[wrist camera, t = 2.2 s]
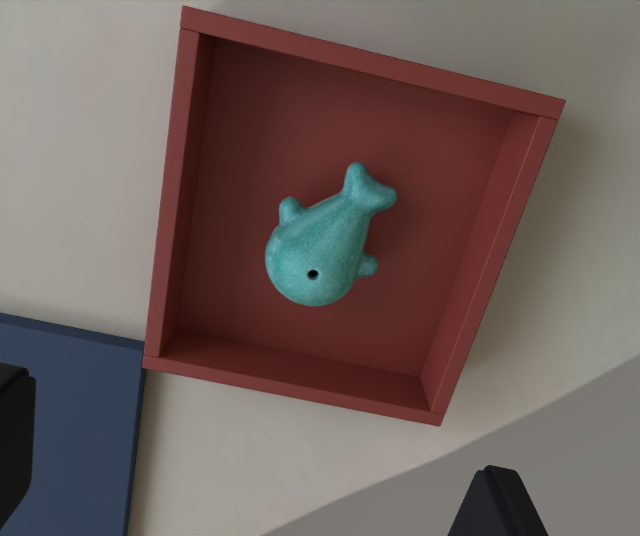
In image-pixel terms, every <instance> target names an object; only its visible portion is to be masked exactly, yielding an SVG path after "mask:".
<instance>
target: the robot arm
mask: <svg viewBox="0 0 640 536" xmlns="http://www.w3.org/2000/svg"><path fill="white" fill-rule="evenodd" d="M35 400H36V379H35V378H34V377H31V376H29V371H28V369H27V368H25V367H20V366H15V365H11V364H6V363H1V362H0V530H1V529H2V527H3V526H4V525H5V523H6V522H7V520H8V519H9V518H10V516H11V515H12V514H13V512H14V511H15V509H16V508H17V507H18V505H19V504H20V503H21V501H22V500H23V498H24V497H25V495H26V493H27V491H28V489H29V487H30V484H31V479H32V463H33V442H34V421H35ZM448 536H548V534H547V532H546V530H545V528H544V525H543V523H542V521H541V519H540V517H539V515H538V513H537V511H536V509H535V507H534V505H533V503H532V501H531V499H530V496H529V494H528V493H527V490H526V488H525V486H524V484H523V482H522V480H521V478H520V476H519V475H518V473H517V472H516V471H515V470H511V469H506V468H502V467H497V466H492V465H488V466H487V467H485V468H484V470H483V471H481V470H479V471H477V472H476V474H475V476H474V478H473V480H472V482H471V485H470V486H469V489H468V491H467V493H466V496H465V498H464V500H463V503H462V504H461V507H460V509H459V511H458V513H457V516H456V518H455V520H454V522H453V524H452V527H451V529H450V531H449V534H448Z"/></svg>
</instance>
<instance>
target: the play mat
mask: <svg viewBox="0 0 640 536" xmlns="http://www.w3.org/2000/svg"><path fill="white" fill-rule="evenodd" d="M144 346H145V342H143V341H138V340H133V339H128V338H123V337H118V336H113V335H108V334H103V333H98V332H93V331H88V330H83V329H78V328H73V327H68V326H63V325H58V324H53V323H48V322H43V321H38V320H33V319H28V318H23V317H18V316H13V315H8V314H3V313H0V362H1V363H6V364H11V365H15V366H20V367H25V368H27V369H28V371H29V376H31V377H34V378H35V379H36V400H35V421H34V442H33V463H32V479H31V484H30V487H29V489H28V491H27V493H26V495H25V497H24V498H23V500H22V501H21V503H20V504H19V505H18V507H17V508H16V509H15V511H14V512H13V514H12V515H11V516H10V518H9V519H8V520H7V522H6V523H5V525H4V526H3V527H2V529H1V530H0V536H127V531H128V523H129V514H130V505H131V497H132V488H133V479H134V470H135V462H136V453H137V444H138V436H139V427H140V418H141V410H142V401H143V392H144V383H145V375H146V369H145V368H142V364H143V355H144Z"/></svg>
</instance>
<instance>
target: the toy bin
mask: <svg viewBox="0 0 640 536" xmlns="http://www.w3.org/2000/svg"><path fill="white" fill-rule="evenodd" d="M180 27H181V28H180V31H179V40H178V49H177V58H176V67H175V76H174V85H173V94H172V103H171V112H170V121H169V130H168V139H167V148H166V157H165V166H164V175H163V184H162V193H161V202H160V211H159V220H158V229H157V238H156V247H155V256H154V265H153V274H152V283H151V292H150V301H149V310H148V319H147V328H146V337H145V346H144V355H143V364H142V368H145V369H150V370H155V371H160V372H166V373H171V374H176V375H181V376H186V377H191V378H196V379H201V380H206V381H211V382H216V383H221V384H226V385H231V386H236V387H242V388H247V389H252V390H257V391H262V392H267V393H272V394H277V395H282V396H287V397H292V398H297V399H302V400H307V401H312V402H317V403H323V404H328V405H333V406H338V407H343V408H348V409H353V410H358V411H363V412H368V413H373V414H378V415H383V416H388V417H393V418H399V419H404V420H409V421H414V422H419V423H424V424H429V425H434V426H441V423H442V420H443V418H444V414H445V413H446V410H447V408H448V405H449V402H450V400H451V397H452V395H453V392H454V389H455V387H456V384H457V382H458V379H459V376H460V374H461V371H462V369H463V366H464V364H465V361H466V358H467V356H468V353H469V351H470V348H471V345H472V343H473V340H474V338H475V335H476V332H477V330H478V327H479V325H480V322H481V319H482V317H483V314H484V312H485V309H486V307H487V304H488V301H489V299H490V296H491V294H492V291H493V288H494V286H495V283H496V281H497V278H498V275H499V273H500V270H501V268H502V265H503V262H504V260H505V257H506V255H507V252H508V250H509V247H510V244H511V242H512V239H513V237H514V234H515V231H516V229H517V226H518V224H519V221H520V218H521V216H522V213H523V211H524V208H525V205H526V203H527V200H528V198H529V195H530V193H531V190H532V187H533V185H534V182H535V180H536V177H537V174H538V172H539V169H540V167H541V164H542V161H543V159H544V156H545V154H546V151H547V148H548V146H549V143H550V141H551V138H552V136H553V133H554V130H555V128H556V125H557V123H558V119H559V118H560V115H561V112H562V110H563V107H564V105H565V102H566V100H564V99H560V98H555V97H551V96H547V95H543V94H539V93H535V92H531V91H527V90H523V89H519V88H515V87H511V86H507V85H503V84H499V83H495V82H491V81H487V80H483V79H479V78H475V77H471V76H467V75H463V74H458V73H454V72H450V71H446V70H442V69H438V68H434V67H430V66H426V65H422V64H418V63H414V62H410V61H406V60H402V59H398V58H394V57H390V56H386V55H382V54H378V53H374V52H370V51H366V50H362V49H357V48H353V47H349V46H345V45H341V44H337V43H333V42H329V41H325V40H321V39H317V38H313V37H309V36H305V35H301V34H297V33H293V32H289V31H285V30H281V29H277V28H273V27H269V26H265V25H260V24H256V23H252V22H248V21H244V20H240V19H236V18H232V17H228V16H224V15H220V14H216V13H212V12H208V11H204V10H200V9H196V8H192V7H188V6H182V12H181V21H180ZM354 162H360V163H362V164H364V165H365V167H366V168H367V170H368V172H369V173H370V174H371V175H372V177H373V178H374V179H376V180H377V181H378V182H380V183H382V184H384V185H387V186H390V187H392V188H394V189H395V190H396V192H397V200H396V202H395V204H394V205H393V206H391V207H389V208H387V209H386V210H383V211H381V212H378V213H376V214H375V215H374V216H373V217H372V218H371V220H370V224H369V229H368V234H367V239H366V243H365V246H364V251H365V252H366V253H368V254H370V255H373V256H374V257H376V259H377V261H378V269H377V271H376V272H375V273H374V274H373V275H370V276H367V277H363V278H359V279H357V280H355V281H354V283H353V285H352V287H351V289H350V290H349V291H348V292H347V293H346V294H345V295H344V296H343V297H342V298H340V299H338V300H337V301H335V302H333V303H330V304H327V305H323V306H306V305H302V304H299V303H296V302H294V301H292V300H290V299H288V298H287V297H285V296H284V295H283V294H281V293H280V292H279V291H278V290H277V288H276V287H275V286H274V284H273V283H272V281H271V280H270V278H269V275H268V273H267V269H266V265H265V250H266V246H267V242H268V240H269V238H270V236H271V234H272V232H273V231H274V229H275V228H276V227H277V226H278V225H279V221H280V217H279V206H280V203H281V202H282V200H284V199H285V198H287V197H294V198H296V199H298V200H299V201H300V203H301V204H302V205H303V206H304V207H311V206H313V205H315V204H317V203H319V202H321V201H323V200H325V199H327V198H330V197H332V196H334V195H336V194H338V193H339V192H340V191H341V190H342V189H343V185H344V179H345V175H346V172H347V169H348V167H349V166H350V165H351V164H352V163H354Z"/></svg>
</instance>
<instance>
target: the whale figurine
mask: <svg viewBox="0 0 640 536" xmlns="http://www.w3.org/2000/svg"><path fill="white" fill-rule="evenodd" d="M396 200H397V192H396V190H395V189H394V188H392V187H390V186H387V185H384V184H382V183H380V182H378V181H377V180H376V179H374V178H373V177H372V175H371V174H370V173H369V172H368V170H367V168H366V167H365V165H364V164H362V163H360V162H354V163H352V164H351V165H350V166H349V167H348V169H347V172H346V175H345V179H344V185H343V189H342V190H341V191H340V192H339V193H338V194H336V195H334V196H332V197H330V198H327V199H325V200H323V201H321V202H319V203H317V204H315V205H313V206H311V207H304V206H303V205H302V204H301V203H300V201H299V200H298V199H296V198H294V197H287V198H285V199H284V200H282V202H281V203H280V206H279V217H280V221H279V225H278V226H277V227H276V228H275V229H274V231H273V232H272V234H271V236H270V238H269V240H268V242H267V246H266V250H265V265H266V269H267V273H268V275H269V278H270V280H271V281H272V283H273V284H274V286H275V287H276V288H277V290H278V291H279V292H280V293H281V294H283V295H284V296H285V297H287V298H288V299H290V300H292V301H294V302H296V303H299V304H302V305H306V306H323V305H327V304H330V303H333V302H335V301H337V300H338V299H340V298H342V297H343V296H344V295H345V294H346V293H347V292H348V291H349V290H350V289H351V287H352V285H353V283H354V281H355V280H357V279H359V278H363V277H367V276H370V275H373V274H374V273H375V272H376V271H377V269H378V261H377V259H376V257H374V256H373V255H370V254H368V253H366V252H365V251H364V246H365V243H366V239H367V234H368V229H369V224H370V220H371V218H372V217H373V216H374V215H375V214H376V213H378V212H381V211H383V210H386V209H387V208H389V207H391V206H393V205H394V204H395V202H396Z"/></svg>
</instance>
